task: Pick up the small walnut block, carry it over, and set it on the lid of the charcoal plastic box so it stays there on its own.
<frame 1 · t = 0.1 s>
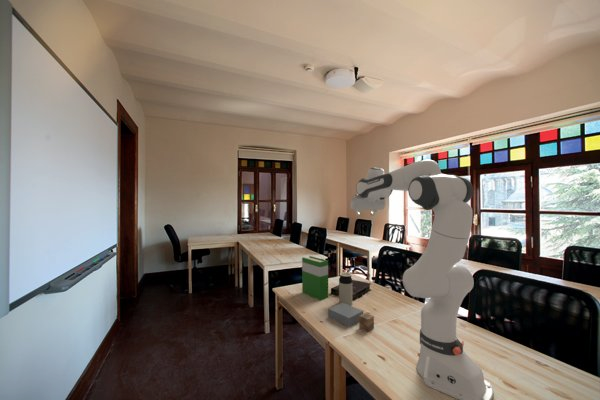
hand: (364, 215, 142), 54 cm above the table, tool tilted 30°, fingers open, 8 cm apart
travel mug: (345, 303, 146), on the table
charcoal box: (345, 319, 128), on the table
green cereal box: (314, 295, 160), on the table
diary: (352, 292, 165), on the table
walnut block: (366, 328, 118), on the table
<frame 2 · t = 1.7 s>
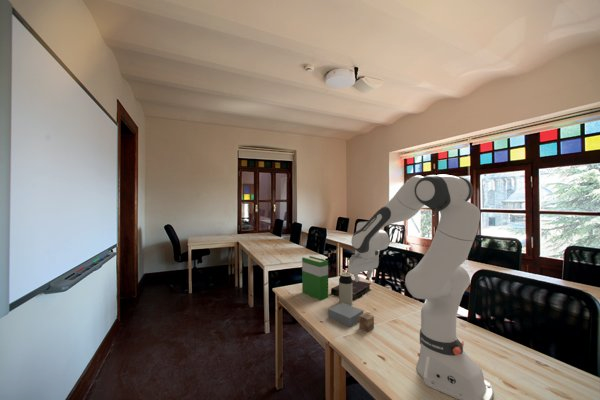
hand: (363, 279, 122), 23 cm above the table, tool pointing down, fingers open, 8 cm apart
nothing on the table moved.
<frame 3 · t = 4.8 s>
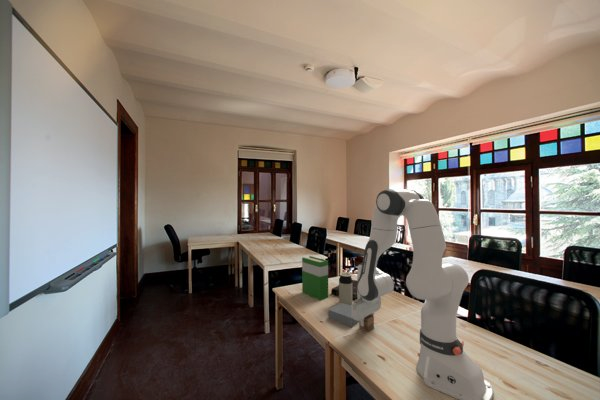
hand: (366, 323, 118), 2 cm above the table, tool pointing down, fingers closed on walnut block, 5 cm apart
walnut block: (366, 328, 118), on the table, touching gripper
everything else where it was.
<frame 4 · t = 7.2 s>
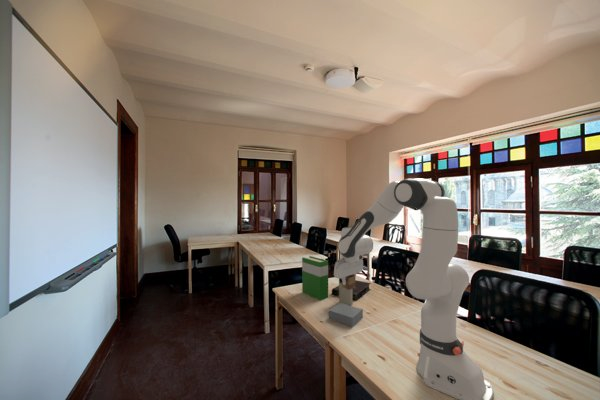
hand: (348, 283, 126), 19 cm above the table, tool pointing down, fingers closed on walnut block, 5 cm apart
walnut block: (348, 287, 126), point 17 cm above the table, touching gripper
everything else where it was.
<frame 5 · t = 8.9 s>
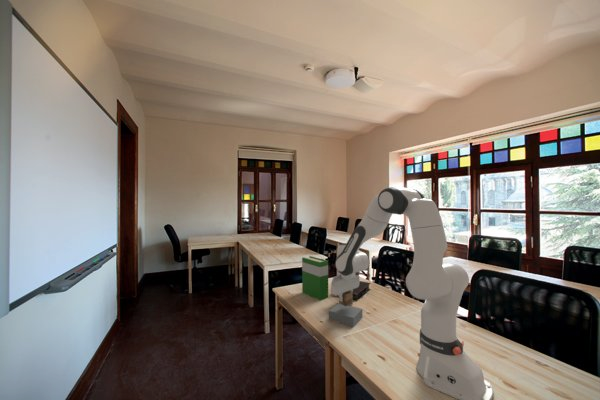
hand: (345, 299, 128), 10 cm above the table, tool pointing down, fingers closed on walnut block, 5 cm apart
walnut block: (345, 303, 128), point 8 cm above the table, touching gripper
when the fingers open (9 cm above the table, at t = 10.0 s): walnut block drops 2 cm, resting on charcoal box.
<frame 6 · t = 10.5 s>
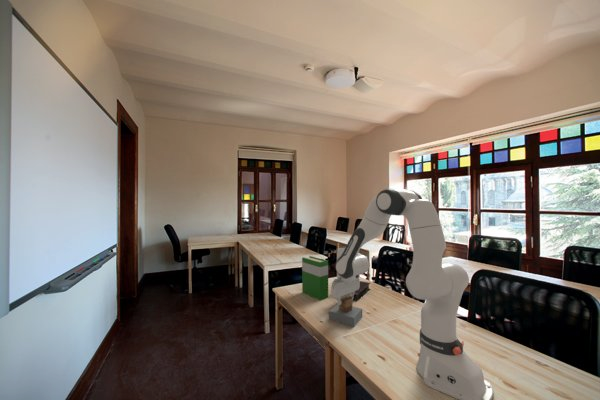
hand: (345, 301, 128), 9 cm above the table, tool pointing down, fingers open, 8 cm apart
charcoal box: (345, 319, 128), on the table, touching walnut block
walnut block: (345, 309, 128), point 5 cm above the table, touching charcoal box
everything else where it was.
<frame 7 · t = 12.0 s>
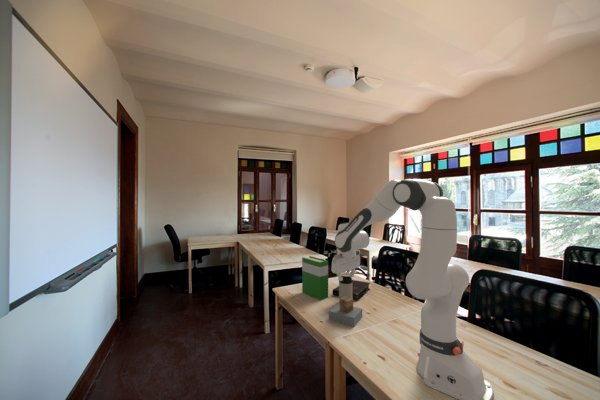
hand: (346, 278, 128), 21 cm above the table, tool pointing down, fingers open, 8 cm apart
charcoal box: (345, 319, 128), on the table
walnut block: (346, 309, 128), point 5 cm above the table
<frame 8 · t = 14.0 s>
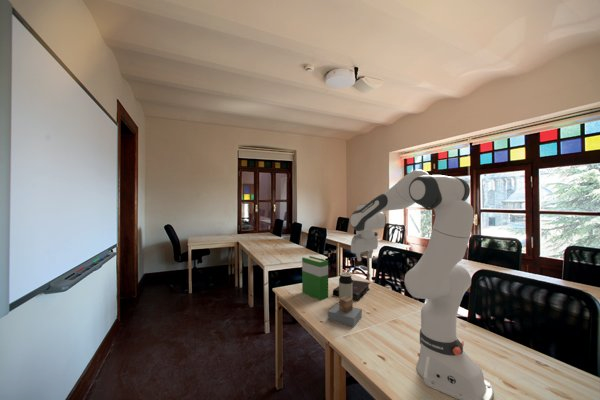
hand: (364, 259, 129), 31 cm above the table, tool pointing down, fingers open, 8 cm apart
at the end: walnut block inside the target area on the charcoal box (0.5 cm from its centre), point 5.0 cm above the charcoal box's base; walnut block touching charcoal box; walnut block tilted 0° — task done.
